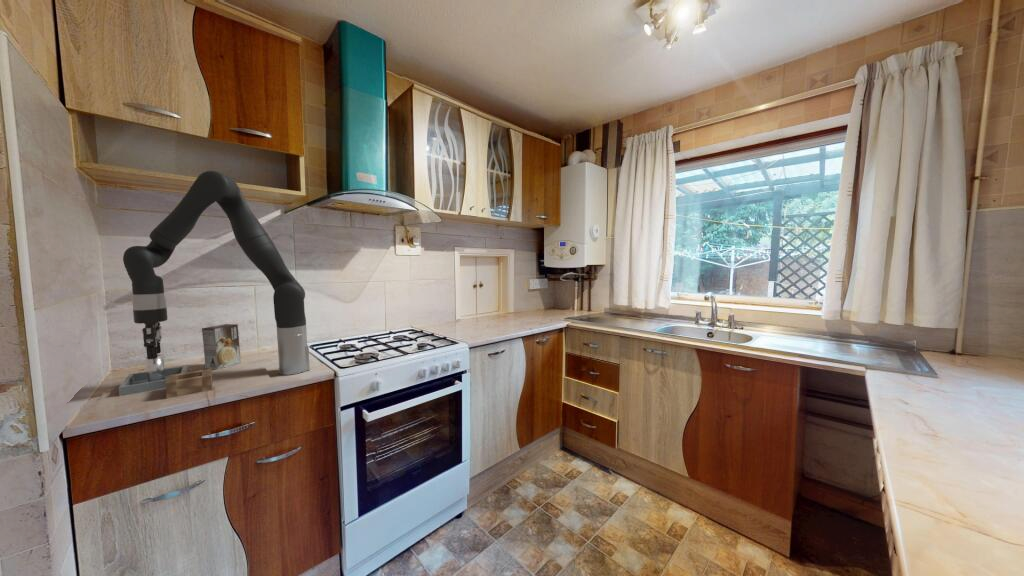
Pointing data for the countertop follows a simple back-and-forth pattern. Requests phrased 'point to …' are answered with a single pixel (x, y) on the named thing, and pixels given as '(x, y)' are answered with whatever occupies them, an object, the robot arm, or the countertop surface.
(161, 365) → the pin
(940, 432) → the countertop surface
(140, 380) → the tray
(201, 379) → the pin block
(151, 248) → the robot arm
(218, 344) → the coffee box
